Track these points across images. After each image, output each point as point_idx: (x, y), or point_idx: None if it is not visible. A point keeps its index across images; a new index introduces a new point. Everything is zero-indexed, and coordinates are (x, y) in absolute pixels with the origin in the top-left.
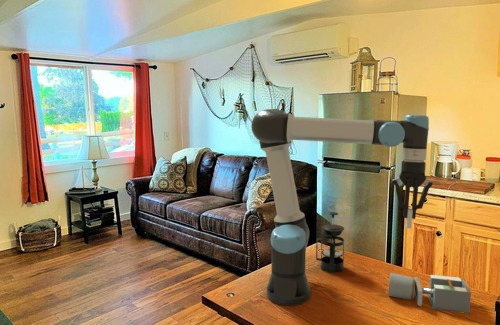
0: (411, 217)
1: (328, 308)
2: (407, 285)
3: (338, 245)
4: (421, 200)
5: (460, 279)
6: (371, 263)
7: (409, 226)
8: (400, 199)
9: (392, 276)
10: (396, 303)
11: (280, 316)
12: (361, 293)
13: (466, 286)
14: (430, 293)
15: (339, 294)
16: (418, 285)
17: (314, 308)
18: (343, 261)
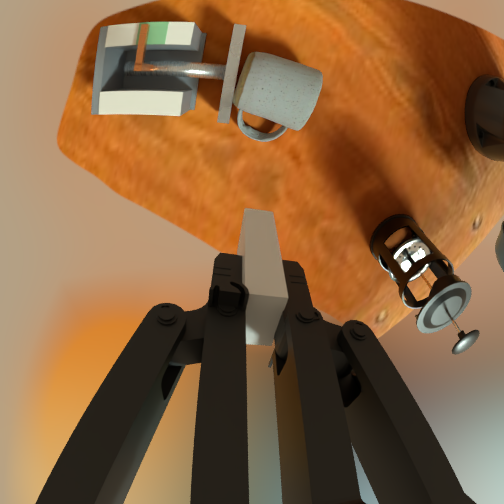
0: (250, 250)
1: (442, 50)
2: (269, 58)
3: (425, 257)
4: (144, 381)
5: (100, 102)
6: None
7: (257, 215)
8: (383, 385)
9: (313, 87)
10: (294, 52)
11: (501, 48)
12: (369, 104)
13: (98, 61)
14: (198, 62)
15: (416, 103)
16: (234, 60)
17: (462, 56)
18: (383, 243)
